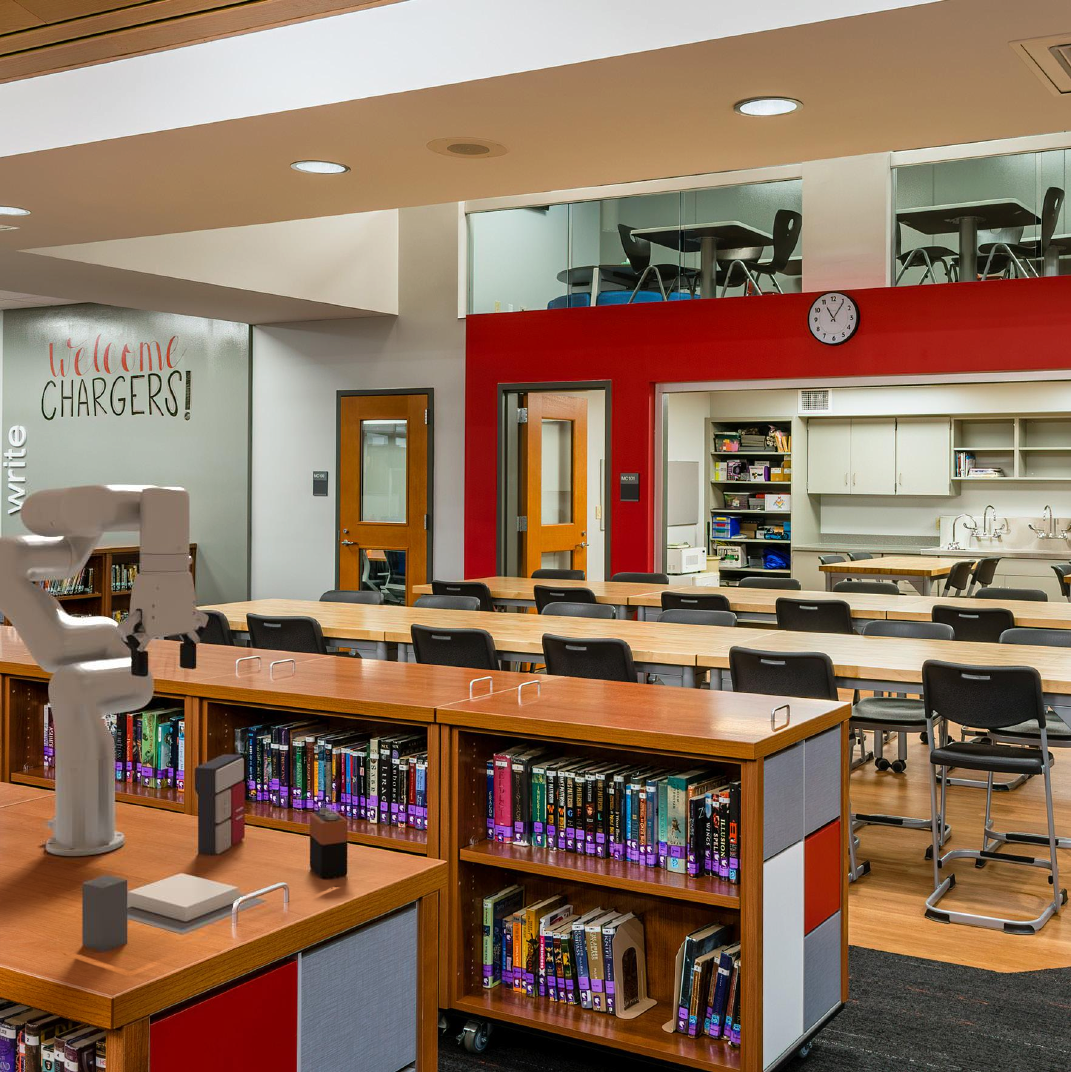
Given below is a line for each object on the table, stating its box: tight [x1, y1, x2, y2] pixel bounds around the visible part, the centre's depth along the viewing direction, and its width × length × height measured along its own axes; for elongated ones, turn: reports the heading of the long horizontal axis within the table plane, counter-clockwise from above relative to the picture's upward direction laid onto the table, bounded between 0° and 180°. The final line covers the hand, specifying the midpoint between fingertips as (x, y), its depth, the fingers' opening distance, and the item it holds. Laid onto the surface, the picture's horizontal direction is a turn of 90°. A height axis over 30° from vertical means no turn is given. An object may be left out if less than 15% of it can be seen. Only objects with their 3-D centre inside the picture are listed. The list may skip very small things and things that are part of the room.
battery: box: [309, 807, 349, 880], centre depth 189 cm, size 4×7×10 cm, turn 28°
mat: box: [127, 891, 267, 935], centre depth 173 cm, size 20×16×1 cm
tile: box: [127, 872, 239, 922], centre depth 172 cm, size 2×10×12 cm
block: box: [81, 874, 128, 953], centre depth 157 cm, size 4×4×9 cm
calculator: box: [194, 753, 246, 856], centre depth 202 cm, size 11×4×15 cm, turn 168°
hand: (164, 671), depth 188 cm, fingers open, 9 cm apart
